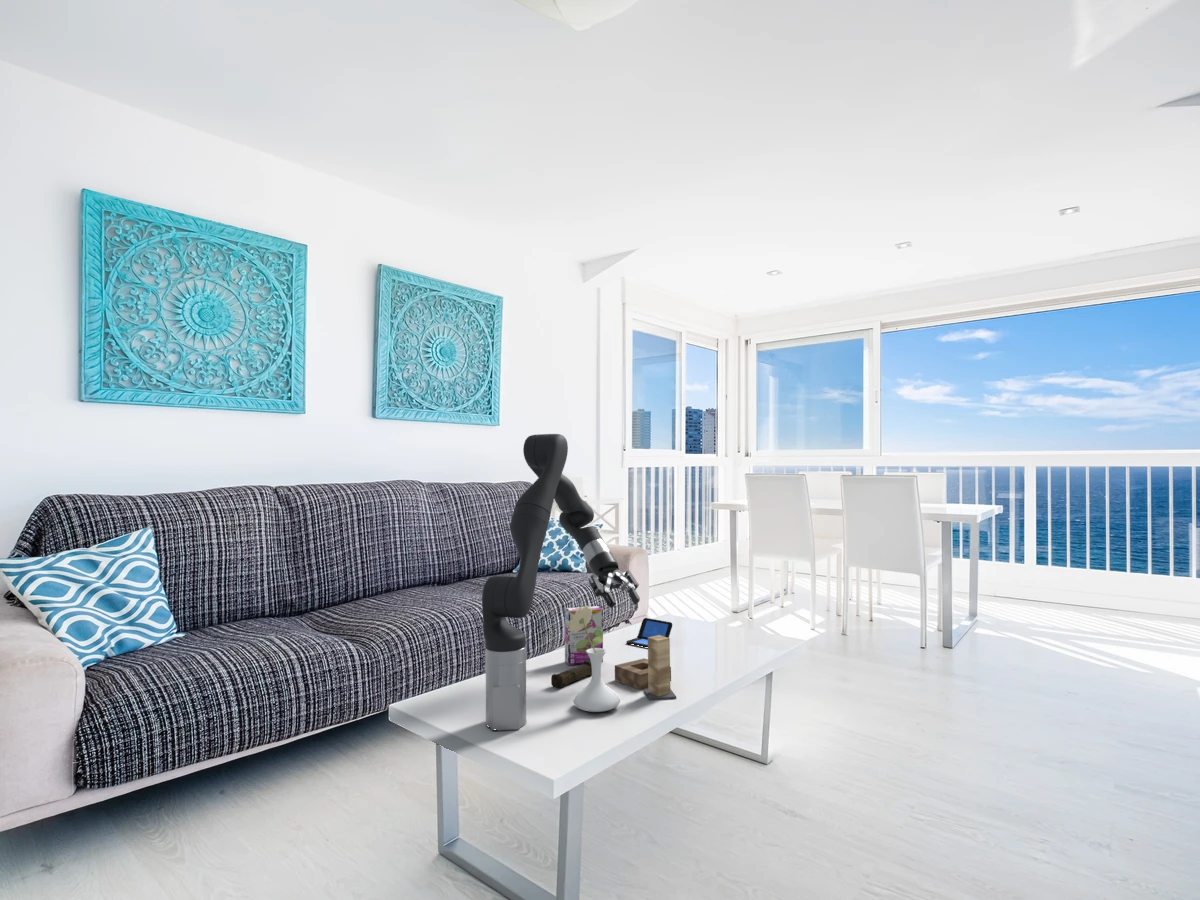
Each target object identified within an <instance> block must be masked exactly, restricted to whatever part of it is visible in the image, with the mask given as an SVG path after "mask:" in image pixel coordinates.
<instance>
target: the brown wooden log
mask: <svg viewBox="0 0 1200 900" xmlns="http://www.w3.org/2000/svg"><path fill="white" fill-rule="evenodd" d="M585 677H587V678H592V666H591V660H590V659H586V660H585V661H584V662H583V664H579V665H576V666H575V667H572V668H570V669H567V670H564V671H561V672H559V673H554V674H551V686H552V688H554V689H558V690H560V689H563V688H565V687H566V686H567V685H569V684H571V683H573V682H575V681H578V680H581V679H583V678H585Z"/></svg>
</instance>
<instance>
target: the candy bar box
mask: <svg viewBox="0 0 1200 900" xmlns="http://www.w3.org/2000/svg"><path fill="white" fill-rule="evenodd" d="M580 607H582V609H583V607H584V606H579V607H578V606H577V607H564V662H565V663H566V665H568V666H575V665H576V666H578V665H582V664H583V662H584V661H585V660H586V659H590V657H589V655H588V654H587V652H586V650H588V649H591V648H592V646H591V644H590V642H588V643H587V645H586V646H585V647H583V648H575V646H576V644H577V643H578V642H579V641H581V640H583V639H586V640H588V637H587V633H586V630H585V627H583V628H582V629H581V630H579V631H578V632H575V633H573V631H572V632H570V631H568V628H569V627H567V625H568V622H569V621H570V620H571V616H572V615H574V614H575V613H576V611H577V610H579V608H580ZM589 608H592V615H591V619H590V620H589V622H588V623H587V625H586V629H587V632H588V635H589V639H590V641H591V643H592V640H593V639H594V638H596V637H597V636H599V635H601V634H602V633H603V634H604V619H603V618H604V609H603V607H601V606H598V605H596V606H595V605H594V606H588V609H589ZM588 641H589V640H588ZM594 648H602V649H604V641H603V642H602V643H601V644H599V645H597V646H594ZM603 662H604V658H603V659H602V663H603Z"/></svg>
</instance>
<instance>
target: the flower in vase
mask: <svg viewBox="0 0 1200 900" xmlns="http://www.w3.org/2000/svg"><path fill="white" fill-rule="evenodd" d="M579 607H580V608H579V610H577V611H576V613H575V614H574V615H572V616H571V620H570V621H569V622H568V625H567V627H569V628H568V631H570V632H572V631H573V633H575V632H578V631H579V630H581V629H582V628H583V627H585V630H586V633H587V637H588V640H589V641H588V640H586V639H583V640H581V641H579V642H578V643H577V644H576V646H575V648H583V647H585V646H586V645H587V643H588V642H590V644H591V646H592V648H591V649H588V650H586V652H587V654H588V655H589V657H590V660H591V666H592V676H591V679H590V682H588V684H587V685H586V686H584V687H583V688H582V689H581V690H579V692H578V693H577V694H576V695H575V696H574V699H573V701H572V702H573V704H574V706H575V707H576V708H577V709H580V710H582V711H585V712H590V713H601V712H607V711H611V710H614V709H616V708H617V707H618V706H619V704H620V703H621V699H620V697H619V695H618V694H617V693H616V691H614V690H613V689H612V688H611V687H609V686H608V685H606V683H605V682H604V680H603V679H602V663H603V662H602V659H603V660H604V657H605V654H606V653H607V649H605V648H603V649H602V648H594V646H597V645H599V644H601V643H602V642H603V643H604V632H603V633H602V634H601V635H599V636H597V637H596V638H594V639H593V640H592V643H591V641H590V639H589V635H588V632H587V629H586V625H587V623H588V622H589V620H590V619H591V615H592V608H589V609H588V607H589V606H588V605H584V606H579ZM582 607H583V609H582Z"/></svg>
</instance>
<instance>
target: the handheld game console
mask: <svg viewBox="0 0 1200 900" xmlns="http://www.w3.org/2000/svg"><path fill="white" fill-rule="evenodd" d="M672 628H673V623H672V622H671V621H667V620H659V619H655V618H654V619H653V618H649V617H644V618H643V619H642V622H641V625H640V627H639V630H638V635H637V636H636V637H635V638H632V639H629V640H627V641H626V644H627V645H628V644H634V645H639V646H643V647H648V637H653V636H658V635H661V636H664V637H668V638H670V635H671V631H672Z"/></svg>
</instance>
